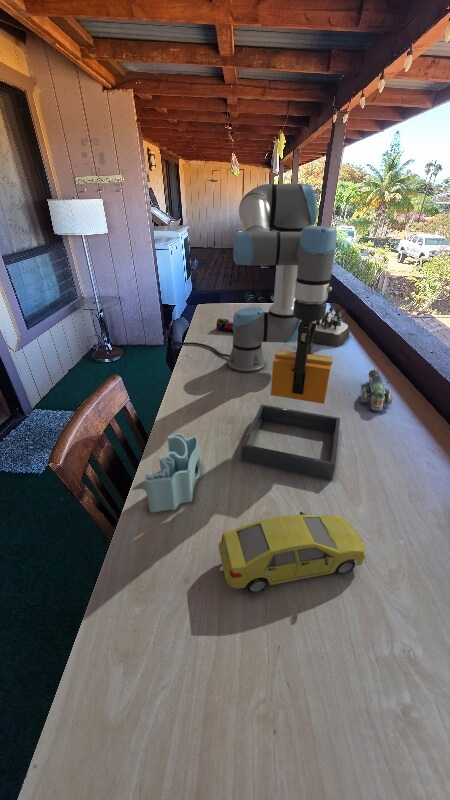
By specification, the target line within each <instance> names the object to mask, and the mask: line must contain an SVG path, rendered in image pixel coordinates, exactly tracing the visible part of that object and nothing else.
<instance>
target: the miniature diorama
mask: <svg viewBox="0 0 450 800" xmlns="http://www.w3.org/2000/svg"><path fill="white" fill-rule="evenodd" d="M343 312H344V310H342V311H341V310H340V307H337V308H336V310H335V311H334V307H333V305H331V306H330V307H329V308H328V310H326V312H325V317H324V318H323V319H321V320H318V321H316V320H315V323H316V329H315V333H314V338H313V340H312V343H315V344H320V345H324V346H330V347H339V346H340V347H341V346H343V345H344V344H345V343H346V342H347V341H348V340H349V338H350V333H351V332H350V331H351V330H350V327H349V325H348V324H347V323H345V322H342V321H344V319H345V313H346V312H344V315H343V314H342V313H343Z"/></svg>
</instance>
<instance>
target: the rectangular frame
mask: <svg viewBox="0 0 450 800" xmlns="http://www.w3.org/2000/svg"><path fill="white" fill-rule="evenodd" d="M263 421H267V422H268V421H269V422H273V423H279V424H285V425H290V426H296V427H301V428H306V429H312V430H318V431H322V432H328V433H333V436H332V445H331V452H330V460H329V461H328V460H323V459H318V458H314V457H309V456H304V455H299V454H295V453H289V452H286V451H285V452H284V451H281V450H280V451H279V450H275V449H271V448H265V447H260V446H257V445H256V446H255V445H253V443H254V441H255V439H256V436H257V434H258V432H259V429H260V427H261V425H262V423H263ZM340 423H341V417H337V416H331V415H325V414H319V413H314V412H309V411H308V412H307V411H304V410H303V411H302V410H296V409H291V408H284V407H278V406H274V405H273V406H272V405H266V404H261V405H260V406H259V408H258V411H257V412H256V414H255V416H254V418H253V421H252V423H251V425H250V427H249V430H248V431H247V434H246V435H245V438H244V440H243V442H242V445H241V457H240V458H241V459H240V460H241V461H243V462H247V463H251V464H256V465H261V466H266V467H270V468H275V469H279V470H284V471H289V472H294V473H297V474H302V475H307V476H311V477H315V478H321V479H324V480H329V481H333V479H334V475H335V470H336V464H337V454H338V443H339V433H340Z"/></svg>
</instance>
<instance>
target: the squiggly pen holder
mask: <svg viewBox="0 0 450 800" xmlns="http://www.w3.org/2000/svg"><path fill="white" fill-rule="evenodd" d="M167 444H168V452H167V453H166V455H165V456H164V455H160V456H159V457H158V459H159V460H158V461H159V467H160V472H157V473H155V472H154V473H153V472H152V474H148V473H147V474H146V475H145V476H144V482H145V489H146V495H147V496H146V497H147V502H148V508H149V512H150V513H158V512H163V511H176V509H177V508H178V507H179V505H180V504H181V505H182V504H183V503H191V502H192V501H193V495H194V488H195V485H196V483H197V481H198V480H199V478H200V474H201V462H200V441H199V437H198V436H196V435H191V436H190V437H188V438H187V437H186V436H185V435H184V434H183V433H181V432H177V433H172V434H169V436H167ZM165 457H166V458H165ZM196 467H197V475H196Z"/></svg>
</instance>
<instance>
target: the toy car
mask: <svg viewBox="0 0 450 800" xmlns="http://www.w3.org/2000/svg"><path fill="white" fill-rule="evenodd" d="M218 552H219V555H220V560H221V565H222V569H223V574H224V579H225V582H226V584H228V585H229V586H230V587H232V588H234V590H235V589H245V588H246V591H247V592H248V593H251V594H257V593H261V592H263V591H265V589H267V588H268V586H269V585H270V586H273V585H279V584H283V583H287V582H293V581H298V580H304V579H309V578H314V577H319V576H325V575H330V574H334V573H336V574H338V575H345V574H349V573H350V572H351V571H353V569H355V567H356V566H357V567H358V566H361V565H362V564H363V563H364V560H365V558H366V556H367V554H366V548H365V544H364V542H363V540H362V538H361V536H360V533H359V532H358V530H357V529H356V528H355V527H354V526H353V525H352V524H351V523H350V522H349V521H348V520H347V519H345V518H344V517H342V516H338V515H333V514H325V515H324V514H323V515H322V514H321V515H317V514H306V513H304V512H303V511H300V512H299V514H289V515H283V516H282V515H281V516H276V517H272V518H267V519H263V520H257V521H256V522H253V523H249V524H247V525H244V526H241V527H239V528H236V529H232V530H229V531H226V532H223V534H222V535H221V540H220V542H219V543H218Z"/></svg>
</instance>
